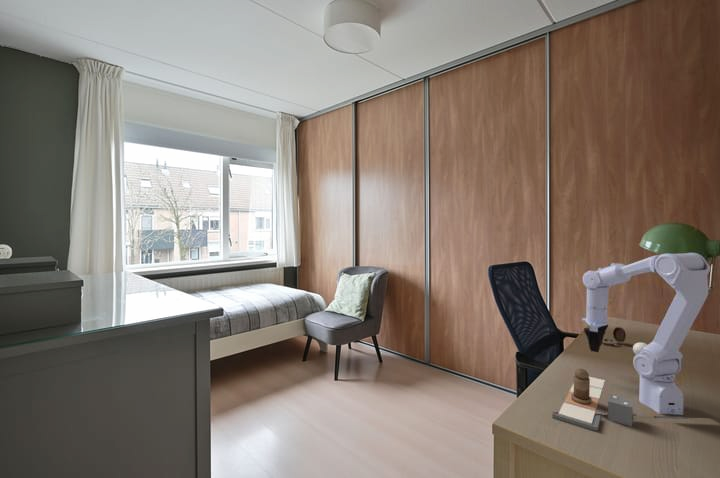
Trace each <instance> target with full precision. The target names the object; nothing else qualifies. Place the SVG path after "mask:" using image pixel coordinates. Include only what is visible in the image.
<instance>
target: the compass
mask: <svg viewBox="0 0 720 478" xmlns="http://www.w3.org/2000/svg"><path fill="white" fill-rule="evenodd" d="M612 336H613V338H614V339H609V338H603V341H602V344H603V345H605V346H609V347H620V346H621V345H620V343H622V342H624V341H625V340H626V337H627V336H626V331H625V330H624V328H622V327H620V326H616V327H615V328H614V329H613V331H612Z"/></svg>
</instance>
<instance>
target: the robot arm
mask: <svg viewBox="0 0 720 478" xmlns="http://www.w3.org/2000/svg"><path fill="white" fill-rule="evenodd" d="M710 270H711V266H710V265H709V263H708V262H707V260H706V259H705V257H703V255H701V254H699V253H696V252H687V253H661V254H659V255H652V256H649V257H646V258H644V259H640V260H637V261H635V262H632V263H630V264H627V265H625V264H624V263H619V262H613V263H610V265H609V266H606V267H599V268H598V269H597V270H588V271H586V272H584V274H583V275H582V283H583V286H585V287H586V303H585V304H586V305H585V306H586V309H585V310H586V312H585V314H586V315H585V317H582V318H581V322H585V323H586V324H587V325H588V327H584V328H583V331H584V332H583V333H585V335H586V337H587V341H588V346H589V347H588V348H589V350H590V352H595V353H599V351H600V348H601V346H602V344H603V343H602V341H603V340H604V336H605V334H606V330H607V329H608V328H609V321H608V300H609V299H608V295H609V292H610V288H611V287H612V286H615V285H619V284H622V283H626V282H627V283H628V282H630V280H631V278H632V277H633V276H637V275H641V274H645V273H650V272H652V273H655V274H656V273H657V275H659V276H660V277H661V278H662V279H663V280H664V281H665V282H666V283H667V284H668V285H669V286H670V287H671V288H672V289H673V290H674V291H675V292H676V293H675V295H674V298H673V300H672V301H671V304H670V305H669V308H668V309H667V311H666V313H665V316H664V318H663V319H662V321H661V322H660V323H661V324H660V326H659V328H658V330H657V332H656V334H655V336H654V338H653V340H652V341H651V342H650V343H648V344H647V346H645V347H644V348H643V349H642V351H641V352H640V353H639V354H637V355H636V354H635V355H634V357H633V360H632V361H633V362H632V363H633V367H634V369H635V370H636V372H637V375H638V376H639V385H638V387H639V392H638V393H639V394H638V395H639V397H638V401H639V402H640V403H641V404H642V405H644V406H646V407H648V408H650V409H652V410H653V411H655V412H656V413H657V414H659V415H653V417H654V418H657V419H658V418H660V419H684V420H685V419H687V417H686V416H680V415H684V398H685V397H684V393H683V391H682V389H680V388H679V387H678V386H677V385H676V383H675V381H674V379H676V375H677V374H678V373H680V371H681V370H682V358H683V357H684V356H683V354H682V353H681V351H679V350H680V349H681V346H682V345H683V342H684V341H685V340H686V338H687V335H688V334H689V331H690V329H691V328H692V325H693V324H694V322H695V320H696V318H697V316H698V315H699V313H700V311H701V309H702V307H703V306H704V303H705V302H706V299H708V295H709V283H708V282H709V281H708V274H709V272H710ZM661 415H665V416H661ZM666 415H667V416H666ZM668 415H679V416H668Z"/></svg>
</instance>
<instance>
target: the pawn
mask: <svg viewBox="0 0 720 478" xmlns="http://www.w3.org/2000/svg"><path fill="white" fill-rule="evenodd" d="M589 377H590V375H589V372H588V371H587V370H585V369H583V368H578V369H576V370H575V371H574V376H573V383H574V392H572V393H573V394H572V400H573V401H574V402H577V403H579V404H584V405H589V404H591V402H592V399H591V398H592V397H590V396H589V393H590V387H591V386H590V379H589Z"/></svg>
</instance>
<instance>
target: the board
mask: <svg viewBox="0 0 720 478" xmlns="http://www.w3.org/2000/svg"><path fill="white" fill-rule="evenodd" d="M589 379H590V393H589V397H591V399H592V402H591V404H589V405H584V404H579V403H577V402H574V401H573V400H572V394H573V393H574V382H573V384H572V386H571V387H570V390H569V391H568V393H567V396H566V398H565V399H564V402H563V403H562V405H561V407H560V410H559V412H556V411H555V412H552V414H551V415H552V417H551V418H552V419H555V420H559V421H562V422H565V423H568V424H571V425H574V426H578V427H581V428H584V429H588V430H591V431H594V432H598V431H599V426H600V424H601V420H602V416H603V414H602V413H596V410H597V408H598V405H599V401H600V400H599V399H600V398H601V393H602V392H603V388H604V384H605V382H606V380H605V379H600V378H598V377H597V378H596V377H592V376H589Z"/></svg>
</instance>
